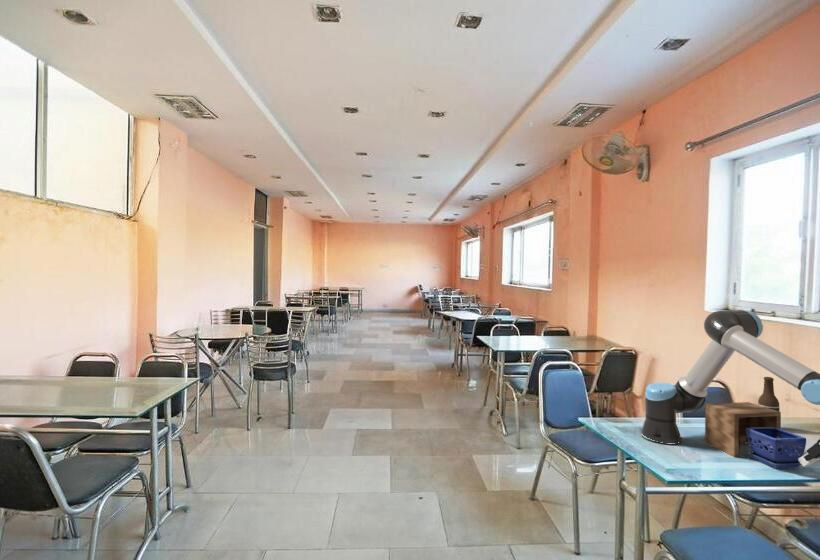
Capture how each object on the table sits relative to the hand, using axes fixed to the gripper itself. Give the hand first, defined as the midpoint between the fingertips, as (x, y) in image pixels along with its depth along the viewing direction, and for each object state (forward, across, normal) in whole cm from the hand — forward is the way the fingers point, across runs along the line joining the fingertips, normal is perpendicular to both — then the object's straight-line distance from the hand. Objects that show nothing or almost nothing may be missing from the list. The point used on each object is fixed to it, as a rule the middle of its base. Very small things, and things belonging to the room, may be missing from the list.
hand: (802, 462), depth 152 cm
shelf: (+20, 0, +14) cm, 24 cm away
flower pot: (+11, 0, +4) cm, 11 cm away
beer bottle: (+35, +35, +28) cm, 57 cm away
